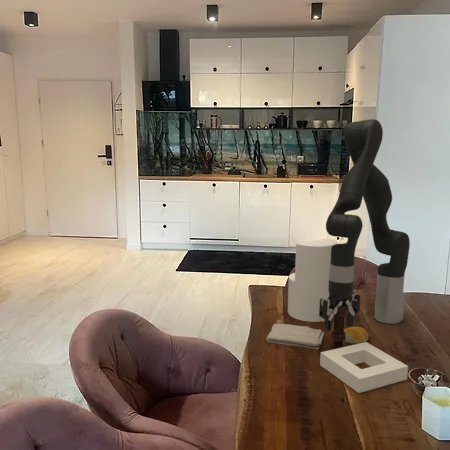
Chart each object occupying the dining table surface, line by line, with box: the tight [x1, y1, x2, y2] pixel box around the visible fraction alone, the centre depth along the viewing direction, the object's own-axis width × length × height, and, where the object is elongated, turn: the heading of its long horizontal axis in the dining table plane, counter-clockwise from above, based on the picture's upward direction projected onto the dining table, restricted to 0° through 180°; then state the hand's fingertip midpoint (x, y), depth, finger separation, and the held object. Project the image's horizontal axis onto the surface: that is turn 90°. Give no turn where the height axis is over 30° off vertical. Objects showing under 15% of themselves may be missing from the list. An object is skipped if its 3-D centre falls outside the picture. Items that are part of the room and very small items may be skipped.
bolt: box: [330, 305, 348, 350], centre depth 150 cm, size 6×5×15 cm
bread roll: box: [343, 326, 369, 345], centre depth 159 cm, size 8×9×4 cm
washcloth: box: [265, 323, 325, 350], centre depth 159 cm, size 12×18×3 cm, turn 73°
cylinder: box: [287, 237, 339, 323], centre depth 179 cm, size 17×17×28 cm
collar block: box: [319, 341, 409, 394], centre depth 137 cm, size 17×17×4 cm
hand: (338, 328), depth 150 cm, fingers open, 7 cm apart
